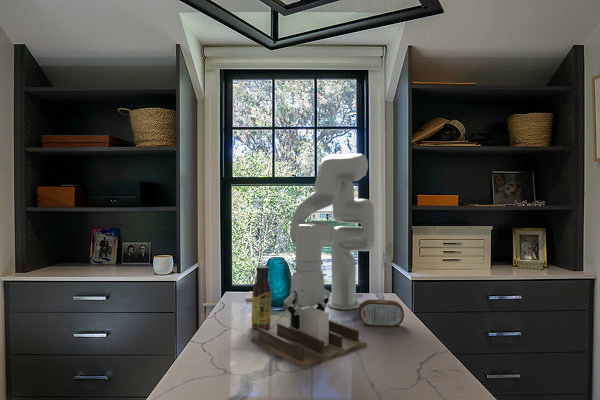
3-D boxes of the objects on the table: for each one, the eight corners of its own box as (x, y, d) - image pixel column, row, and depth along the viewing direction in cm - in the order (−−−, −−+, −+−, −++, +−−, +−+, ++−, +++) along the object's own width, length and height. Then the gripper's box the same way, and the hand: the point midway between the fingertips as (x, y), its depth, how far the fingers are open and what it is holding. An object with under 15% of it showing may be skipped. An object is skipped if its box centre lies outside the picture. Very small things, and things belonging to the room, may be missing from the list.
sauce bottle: (261, 331, 119) (261, 269, 119) (247, 327, 122) (247, 267, 122) (275, 326, 124) (275, 266, 124) (261, 322, 128) (261, 264, 128)
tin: (403, 325, 126) (403, 300, 126) (404, 328, 123) (405, 302, 123) (358, 323, 128) (358, 298, 127) (358, 326, 124) (358, 301, 124)
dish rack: (311, 323, 127) (311, 311, 127) (366, 345, 108) (366, 331, 108) (251, 340, 111) (251, 327, 111) (303, 369, 93) (303, 353, 93)
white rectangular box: (299, 331, 116) (299, 302, 116) (328, 344, 106) (328, 312, 106) (289, 334, 113) (289, 305, 113) (318, 348, 103) (318, 315, 103)
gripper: (321, 261, 118) (321, 315, 118) (277, 267, 107) (276, 327, 107) (338, 264, 112) (338, 321, 112) (293, 271, 101) (293, 334, 101)
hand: (308, 324), depth 110 cm, fingers open, 9 cm apart
